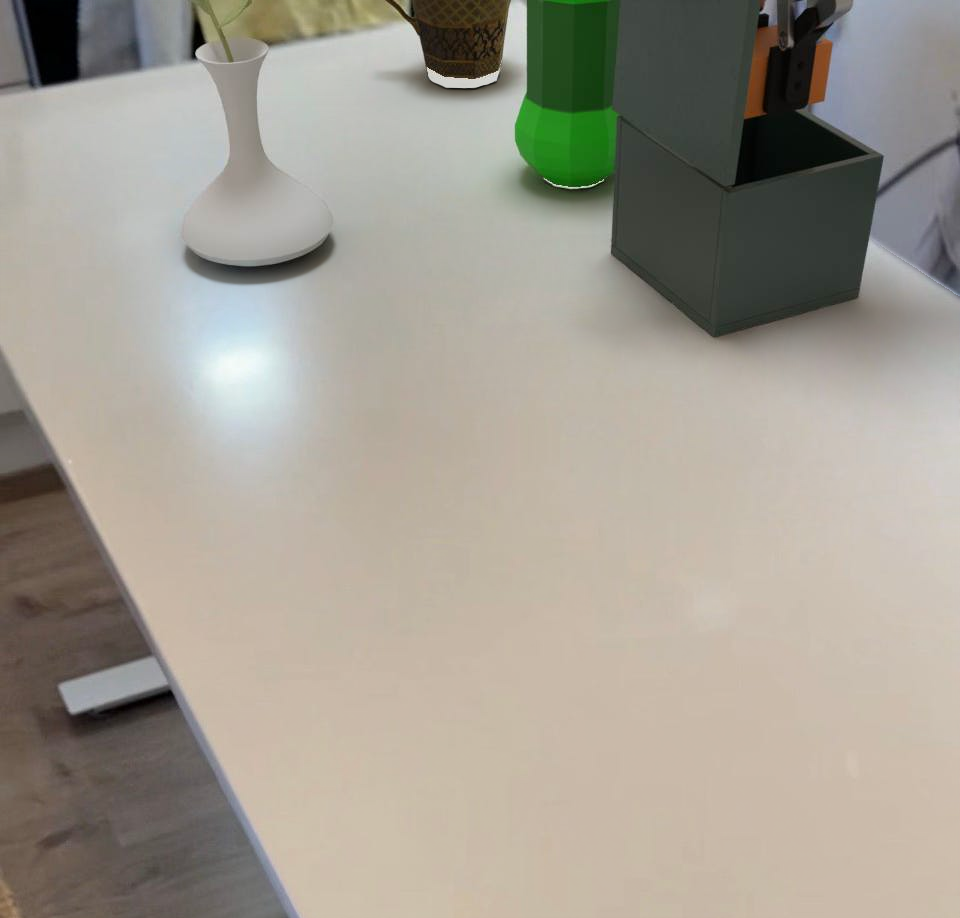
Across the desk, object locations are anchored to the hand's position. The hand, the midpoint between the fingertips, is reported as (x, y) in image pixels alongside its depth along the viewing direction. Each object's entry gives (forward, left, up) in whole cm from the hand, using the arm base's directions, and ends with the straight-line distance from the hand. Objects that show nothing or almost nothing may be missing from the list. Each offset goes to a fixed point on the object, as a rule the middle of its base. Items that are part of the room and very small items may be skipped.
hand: (762, 93), depth 92 cm
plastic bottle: (+11, -18, -12) cm, 24 cm away
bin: (+1, 0, -12) cm, 12 cm away
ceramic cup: (+21, -41, -12) cm, 47 cm away
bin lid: (+6, +3, +4) cm, 8 cm away
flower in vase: (+36, -8, -12) cm, 39 cm away
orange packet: (0, 0, 0) cm, 0 cm away
